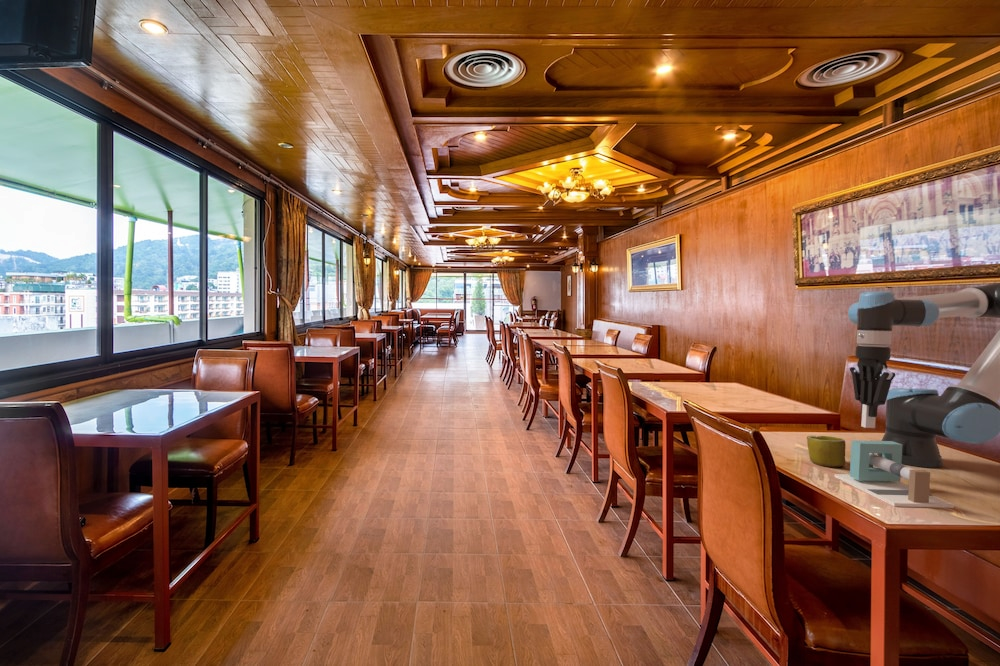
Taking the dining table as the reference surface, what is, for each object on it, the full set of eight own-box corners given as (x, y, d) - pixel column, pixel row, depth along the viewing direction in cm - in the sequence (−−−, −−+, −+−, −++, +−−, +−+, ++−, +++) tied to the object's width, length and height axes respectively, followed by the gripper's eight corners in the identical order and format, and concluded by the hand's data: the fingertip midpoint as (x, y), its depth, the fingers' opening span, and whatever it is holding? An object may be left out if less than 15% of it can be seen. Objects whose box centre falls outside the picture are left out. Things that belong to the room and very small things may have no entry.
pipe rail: (834, 476, 122) (835, 448, 122) (884, 478, 122) (886, 449, 121) (894, 506, 103) (896, 472, 103) (954, 507, 103) (956, 474, 102)
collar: (849, 476, 118) (851, 440, 118) (890, 477, 118) (892, 441, 118) (858, 480, 115) (860, 443, 115) (900, 481, 115) (902, 444, 115)
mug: (861, 465, 126) (846, 431, 128) (823, 473, 128) (809, 439, 130) (840, 460, 138) (827, 429, 140) (805, 467, 140) (793, 437, 142)
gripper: (842, 343, 130) (837, 421, 131) (879, 346, 117) (873, 432, 118) (867, 344, 130) (862, 422, 130) (907, 347, 117) (901, 433, 117)
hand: (868, 427), depth 124 cm, fingers closed
